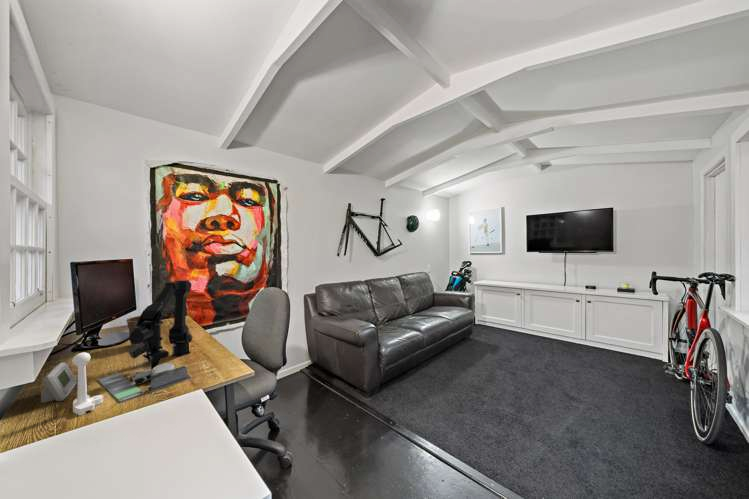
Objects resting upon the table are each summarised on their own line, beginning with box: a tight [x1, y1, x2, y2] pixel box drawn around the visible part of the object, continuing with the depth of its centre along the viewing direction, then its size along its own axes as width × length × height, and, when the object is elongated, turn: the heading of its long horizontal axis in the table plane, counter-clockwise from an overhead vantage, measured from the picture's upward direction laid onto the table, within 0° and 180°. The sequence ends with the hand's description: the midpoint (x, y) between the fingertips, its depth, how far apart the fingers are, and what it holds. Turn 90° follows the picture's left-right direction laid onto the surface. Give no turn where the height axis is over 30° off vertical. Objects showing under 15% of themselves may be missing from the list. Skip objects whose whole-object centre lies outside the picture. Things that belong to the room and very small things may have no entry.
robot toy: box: [130, 360, 176, 386], centre depth 119 cm, size 12×4×15 cm
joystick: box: [72, 352, 104, 416], centre depth 99 cm, size 11×8×20 cm
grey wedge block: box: [147, 365, 191, 393], centre depth 115 cm, size 14×4×5 cm, turn 147°
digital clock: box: [40, 362, 78, 403], centre depth 107 cm, size 16×9×11 cm, turn 24°
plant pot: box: [125, 315, 142, 349], centre depth 160 cm, size 16×16×16 cm
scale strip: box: [97, 372, 145, 404], centre depth 112 cm, size 7×31×1 cm, turn 57°
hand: (153, 370), depth 125 cm, fingers closed
